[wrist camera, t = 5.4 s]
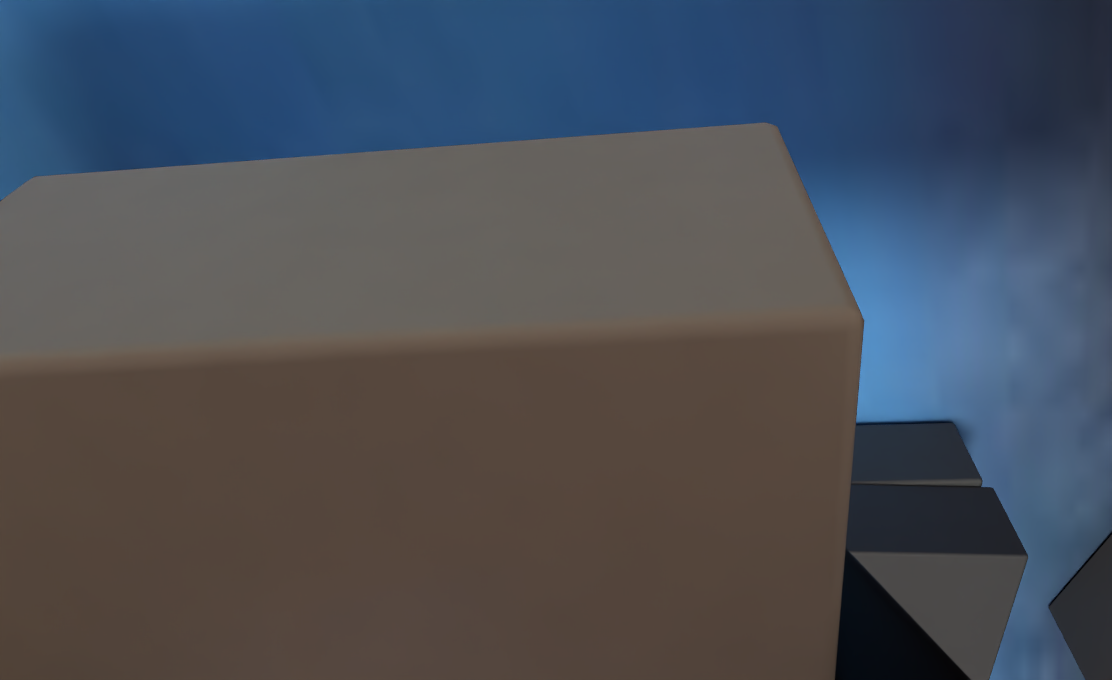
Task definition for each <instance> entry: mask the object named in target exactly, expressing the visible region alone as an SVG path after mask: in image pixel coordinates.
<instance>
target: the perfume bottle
mask: <svg viewBox="0 0 1112 680" xmlns="http://www.w3.org/2000/svg"><path fill="white" fill-rule="evenodd" d="M1049 609H1050V611H1051V613H1052V615H1053V617H1054V619H1055V621H1056V623H1057V625H1058V627H1059V629H1060V631H1061V633H1062V635H1063V637H1064V639H1065V641H1066V642H1067V644H1068V646H1069V648H1070V650H1071V652H1072V654H1073V656H1074V658H1075V660H1076V662H1077V664H1078V666H1079V668H1080V670H1081V672H1082V674H1083V676H1084V678H1085V680H1112V535H1111V536H1110V537H1109V538H1108V539H1107V541H1106V542H1105V543H1104V544H1103V545H1102V546H1101V548H1100V549H1099V550H1098V551H1097V552H1096V553H1095V554H1094V556H1093V557H1092V558H1091V559H1090V560H1089V561H1088V563H1087V564H1086V565H1085V566H1084V567H1083V568H1082V569H1081V571H1080V572H1079V573H1078V574H1077V575H1076V576H1075V578H1074V579H1073V580H1072V581H1071V582H1070V583H1069V584H1068V586H1067V587H1066V588H1065V589H1064V590H1063V591H1062V593H1061V594H1060V595H1059V596H1058V597H1057V598H1056V599H1055V601H1054V602H1053V603H1052V604H1051V605H1050V606H1049Z"/></svg>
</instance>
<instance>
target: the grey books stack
mask: <svg viewBox="0 0 1112 680" xmlns="http://www.w3.org/2000/svg"><path fill="white" fill-rule="evenodd" d="M981 485H982V478H981V476H980V474H979V472H978V470H977V468H976V466H975V464H974V462H973V461H972V459H971V457H970V455H969V453H968V451H967V449H966V447H965V445H964V443H963V441H962V439H961V437H960V435H959V433H958V431H957V429H956V427H955V425H954V424H953V423H932V424H893V425H856V427H855V439H854V451H853V463H852V475H851V487H850V500H849V512H848V524H847V536H846V548H847V549H848V550H849V552H850V553H851V554H852V555H853V556H854V557H855V558H856V559H857V560H858V561H859V562H860V563H861V564H862V565H863V566H864V567H865V568H866V569H867V571H868V572H869V573H870V574H871V575H872V576H873V577H874V578H875V579H876V580H877V581H878V582H879V583H880V584H881V585H882V586H883V587H884V588H885V589H886V591H887V592H888V593H889V594H890V595H891V596H892V597H893V598H894V599H895V600H896V601H897V602H898V603H899V604H900V605H901V606H902V607H903V608H904V609H905V611H906V612H907V613H908V614H909V615H910V616H911V617H912V618H913V619H914V620H915V621H916V622H917V623H918V624H919V625H920V626H921V627H922V628H923V629H924V631H925V632H926V633H927V634H928V635H929V636H930V637H931V638H932V639H933V640H934V641H935V642H936V643H937V644H938V645H939V646H940V647H941V648H942V650H943V651H944V652H945V653H946V654H947V655H948V656H949V657H950V658H951V659H952V660H953V661H954V662H955V663H956V664H957V665H958V666H959V667H960V668H961V670H962V671H963V672H964V673H965V674H966V675H967V676H968V677H969V678H970V679H971V680H989V678H990V675H991V672H992V669H993V665H994V662H995V659H996V656H997V653H998V650H999V647H1000V644H1001V640H1002V637H1003V634H1004V631H1005V628H1006V625H1007V622H1008V619H1009V616H1010V612H1011V609H1012V606H1013V603H1014V600H1015V597H1016V594H1017V591H1018V587H1019V584H1020V581H1021V578H1022V575H1023V572H1024V569H1025V566H1026V562H1027V559H1028V555H1027V553H1026V551H1025V549H1024V547H1023V545H1022V543H1021V541H1020V539H1019V537H1018V535H1017V533H1016V531H1015V530H1014V528H1013V526H1012V524H1011V522H1010V520H1009V518H1008V516H1007V514H1006V512H1005V510H1004V508H1003V506H1002V504H1001V502H1000V500H999V499H998V497H997V495H996V493H995V491H994V489H993V488H991V487H981Z"/></svg>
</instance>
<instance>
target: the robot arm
mask: <svg viewBox="0 0 1112 680" xmlns="http://www.w3.org/2000/svg"><path fill="white" fill-rule="evenodd" d="M835 680H971V679H970V678H969V677H968V676H967V675H966V674H965V673H964V672H963V671H962V670H961V668H960V667H959V666H958V665H957V664H956V663H955V662H954V661H953V660H952V659H951V658H950V657H949V656H948V655H947V654H946V653H945V652H944V651H943V650H942V648H941V647H940V646H939V645H938V644H937V643H936V642H935V641H934V640H933V639H932V638H931V637H930V636H929V635H928V634H927V633H926V632H925V631H924V629H923V628H922V627H921V626H920V625H919V624H918V623H917V622H916V621H915V620H914V619H913V618H912V617H911V616H910V615H909V614H908V613H907V612H906V611H905V609H904V608H903V607H902V606H901V605H900V604H899V603H898V602H897V601H896V600H895V599H894V598H893V597H892V596H891V595H890V594H889V593H888V592H887V591H886V589H885V588H884V587H883V586H882V585H881V584H880V583H879V582H878V581H877V580H876V579H875V578H874V577H873V576H872V575H871V574H870V573H869V572H868V571H867V569H866V568H865V567H864V566H863V565H862V564H861V563H860V562H859V561H858V560H857V559H856V558H855V557H854V556H853V555H852V554H851V553H850V552H849V550H848V549H847V548H845V560H844V573H843V585H842V597H841V609H840V621H839V633H838V646H837V658H836V670H835Z"/></svg>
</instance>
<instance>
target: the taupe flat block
mask: <svg viewBox="0 0 1112 680" xmlns="http://www.w3.org/2000/svg"><path fill="white" fill-rule="evenodd" d="M863 329H864V319H863V317H862V315H861V312H860V310H859V307H858V305H857V303H856V301H855V299H854V296H853V294H852V292H851V290H850V287H849V285H848V283H847V281H846V279H845V276H844V274H843V272H842V270H841V267H840V265H839V263H838V261H837V259H836V256H835V254H834V252H833V250H832V247H831V245H830V243H829V241H828V239H827V236H826V234H825V232H824V230H823V227H822V225H821V223H820V221H819V219H818V216H817V214H816V212H815V210H814V207H813V205H812V203H811V201H810V199H809V196H808V194H807V192H806V190H805V187H804V185H803V183H802V181H801V179H800V176H799V174H798V172H797V170H796V167H795V165H794V163H793V161H792V159H791V156H790V154H789V152H788V150H787V147H786V145H785V143H784V141H783V139H782V136H781V134H780V132H779V130H778V127H777V126H775V125H772V124H769V123H752V124H739V125H725V126H712V127H698V128H685V129H671V130H658V131H644V132H631V133H617V134H604V135H590V136H577V137H563V138H550V139H536V140H522V141H509V142H495V143H482V144H468V145H455V146H441V147H428V148H414V149H401V150H387V151H374V152H360V153H347V154H333V155H320V156H306V157H293V158H279V159H266V160H252V161H239V162H225V163H212V164H198V165H185V166H171V167H158V168H144V169H131V170H117V171H104V172H90V173H77V174H63V175H50V176H36V177H33V178H32V179H30V180H28V181H27V182H25V183H24V184H23V185H21V186H20V187H19V188H17V189H16V190H14V191H13V192H12V193H10V194H9V195H8V196H6V197H5V198H4V199H2V200H1V201H0V680H835V670H836V658H837V646H838V633H839V621H840V609H841V597H842V585H843V573H844V560H845V548H846V536H847V524H848V512H849V500H850V487H851V475H852V463H853V451H854V439H855V427H856V414H857V402H858V390H859V378H860V366H861V354H862V342H863Z"/></svg>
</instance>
